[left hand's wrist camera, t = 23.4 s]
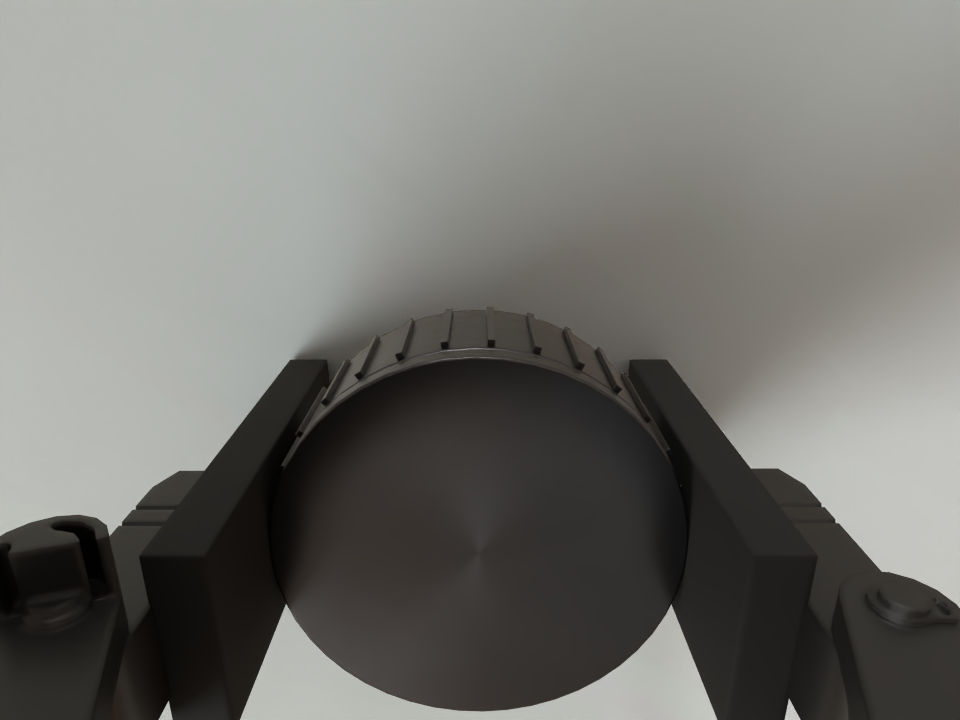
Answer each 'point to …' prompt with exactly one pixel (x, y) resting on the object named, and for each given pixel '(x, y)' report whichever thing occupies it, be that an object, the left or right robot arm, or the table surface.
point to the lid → (478, 514)
